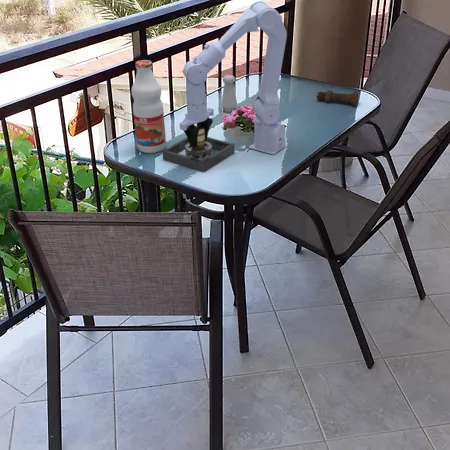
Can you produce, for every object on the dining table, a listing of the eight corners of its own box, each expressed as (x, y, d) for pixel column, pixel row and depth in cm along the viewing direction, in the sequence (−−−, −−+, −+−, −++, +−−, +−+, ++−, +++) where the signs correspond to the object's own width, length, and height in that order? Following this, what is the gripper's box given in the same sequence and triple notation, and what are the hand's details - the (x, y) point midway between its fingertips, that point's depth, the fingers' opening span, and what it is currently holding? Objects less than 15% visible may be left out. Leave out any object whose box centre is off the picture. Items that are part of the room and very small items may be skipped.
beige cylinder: (208, 148, 185) (207, 127, 181) (199, 153, 182) (198, 132, 178) (197, 144, 187) (195, 124, 183) (188, 150, 184) (186, 129, 180)
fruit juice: (171, 143, 194) (164, 59, 179) (158, 155, 187) (150, 68, 172) (145, 139, 197) (137, 56, 182) (132, 151, 190) (121, 65, 175)
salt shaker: (235, 113, 215) (235, 78, 208) (220, 112, 216) (219, 78, 209) (238, 107, 220) (238, 73, 213) (223, 107, 221) (222, 73, 214)
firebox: (234, 152, 187) (234, 142, 185) (204, 172, 176) (203, 162, 174) (194, 141, 195) (193, 132, 193) (163, 159, 184) (162, 149, 182)
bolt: (317, 104, 226) (356, 108, 221) (314, 102, 222) (354, 105, 216) (320, 89, 226) (359, 92, 220) (317, 86, 221) (357, 89, 216)
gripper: (200, 92, 183) (202, 133, 190) (170, 107, 173) (173, 149, 180) (218, 96, 179) (219, 137, 187) (189, 111, 170) (191, 154, 177)
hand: (198, 143), depth 183 cm, fingers closed on beige cylinder, 4 cm apart
